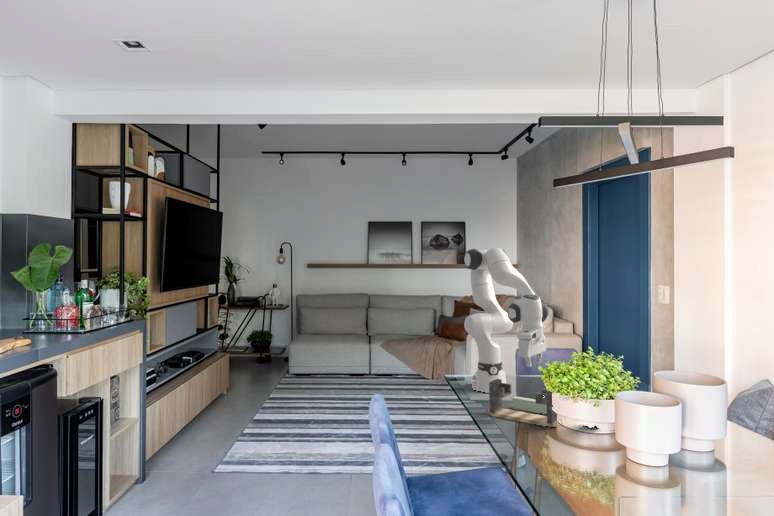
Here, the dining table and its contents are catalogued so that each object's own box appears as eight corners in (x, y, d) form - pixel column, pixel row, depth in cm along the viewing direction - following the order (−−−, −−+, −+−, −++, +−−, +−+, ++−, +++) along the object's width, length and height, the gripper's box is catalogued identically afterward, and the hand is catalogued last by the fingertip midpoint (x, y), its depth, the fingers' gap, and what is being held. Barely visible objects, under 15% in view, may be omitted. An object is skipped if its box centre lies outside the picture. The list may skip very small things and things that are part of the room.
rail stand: (487, 415, 212) (486, 382, 212) (496, 410, 218) (495, 378, 218) (554, 428, 193) (553, 392, 193) (562, 422, 199) (561, 387, 199)
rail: (512, 409, 220) (512, 397, 220) (515, 407, 222) (515, 396, 222) (557, 417, 207) (557, 405, 207) (560, 415, 210) (559, 403, 210)
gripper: (535, 329, 225) (537, 360, 224) (515, 335, 209) (516, 368, 209) (549, 330, 221) (550, 361, 220) (529, 336, 205) (530, 369, 205)
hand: (533, 364), depth 215 cm, fingers open, 8 cm apart
